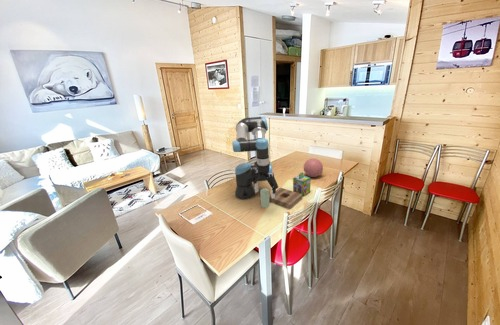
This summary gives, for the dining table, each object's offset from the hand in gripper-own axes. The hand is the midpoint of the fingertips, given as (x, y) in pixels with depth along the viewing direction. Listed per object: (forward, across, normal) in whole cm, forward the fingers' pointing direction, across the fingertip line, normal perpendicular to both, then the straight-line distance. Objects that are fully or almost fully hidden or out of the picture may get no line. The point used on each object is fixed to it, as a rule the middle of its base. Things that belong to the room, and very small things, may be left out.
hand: (264, 194), depth 136 cm
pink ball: (+8, +4, +62) cm, 63 cm away
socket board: (+9, +6, +14) cm, 18 cm away
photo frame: (+9, -31, -34) cm, 47 cm away
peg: (+9, 0, 0) cm, 9 cm away
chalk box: (+9, +10, +30) cm, 33 cm away
